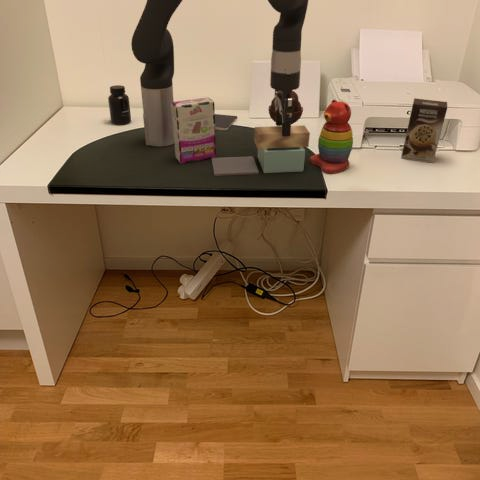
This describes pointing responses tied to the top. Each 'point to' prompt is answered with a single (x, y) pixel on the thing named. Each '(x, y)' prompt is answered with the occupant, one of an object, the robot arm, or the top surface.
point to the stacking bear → (334, 139)
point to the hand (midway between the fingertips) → (282, 130)
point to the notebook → (224, 121)
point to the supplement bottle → (119, 106)
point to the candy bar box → (194, 129)
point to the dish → (281, 159)
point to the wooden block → (281, 137)
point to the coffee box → (424, 130)
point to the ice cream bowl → (297, 109)
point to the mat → (234, 166)
